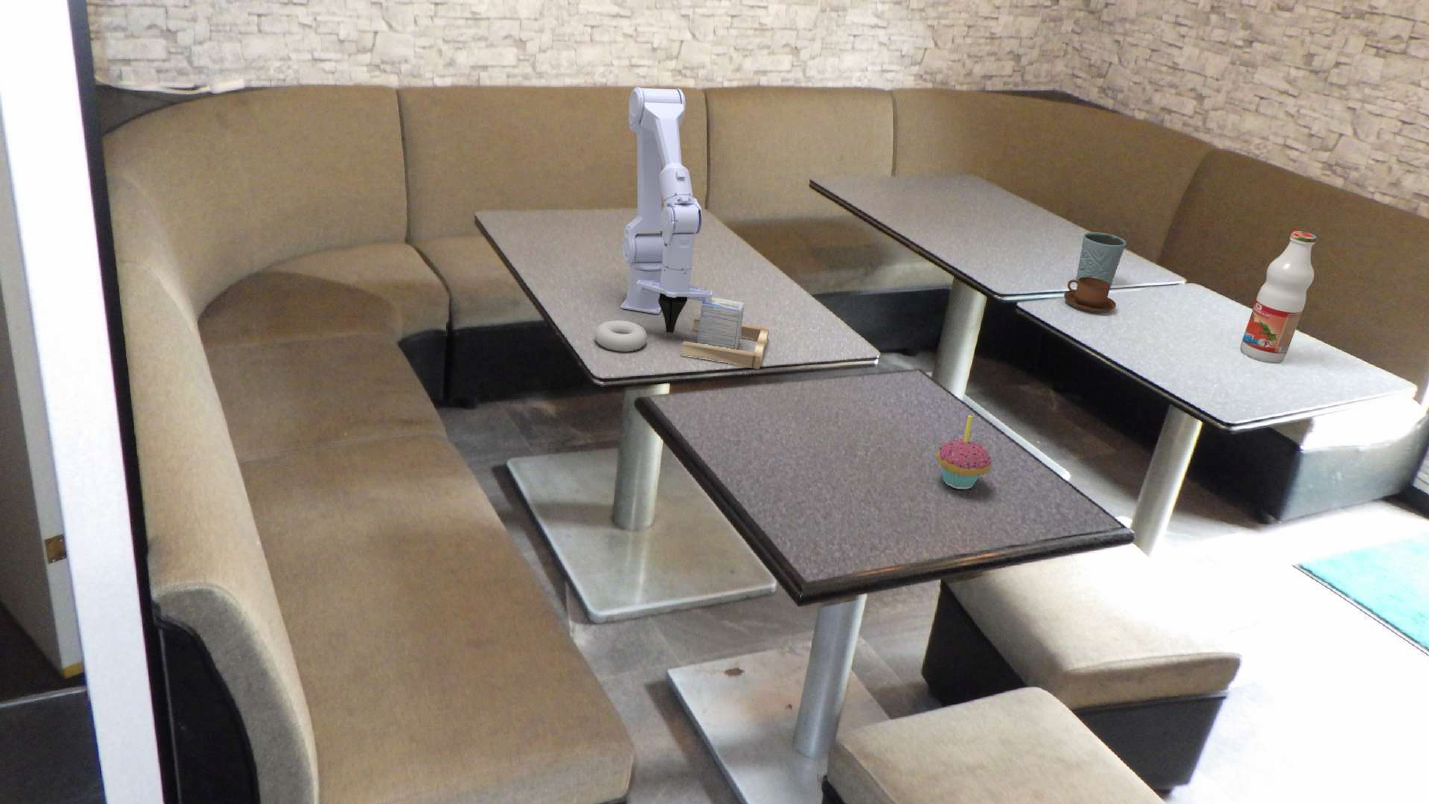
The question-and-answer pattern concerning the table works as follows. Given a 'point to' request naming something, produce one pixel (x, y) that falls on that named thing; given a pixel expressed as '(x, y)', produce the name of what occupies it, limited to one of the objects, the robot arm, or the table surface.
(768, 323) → the table surface
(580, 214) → the table surface
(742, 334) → the wooden u-shaped block
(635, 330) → the donut
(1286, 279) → the fruit juice
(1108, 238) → the grey green embossed tumbler
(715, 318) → the medicine box
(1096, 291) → the cup and saucer
